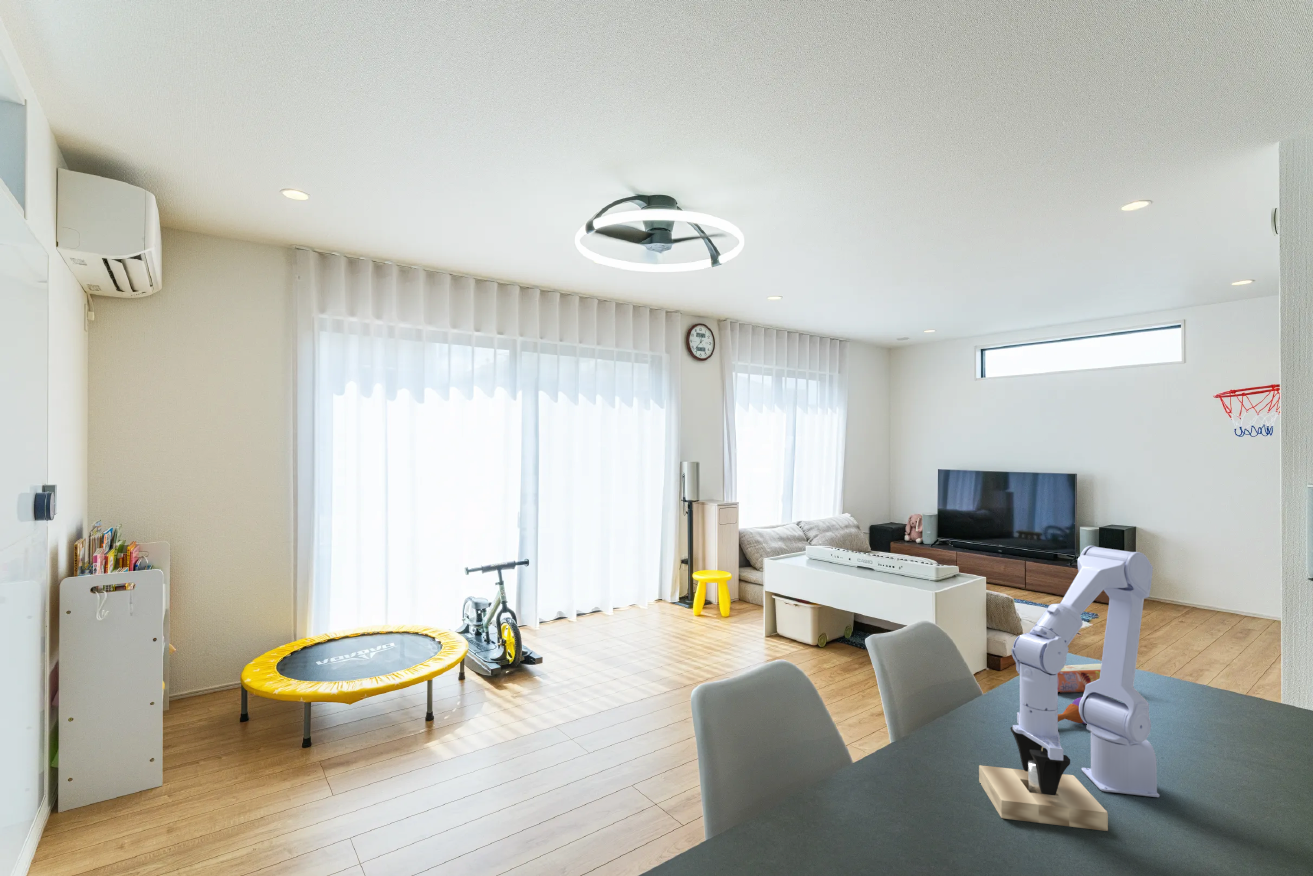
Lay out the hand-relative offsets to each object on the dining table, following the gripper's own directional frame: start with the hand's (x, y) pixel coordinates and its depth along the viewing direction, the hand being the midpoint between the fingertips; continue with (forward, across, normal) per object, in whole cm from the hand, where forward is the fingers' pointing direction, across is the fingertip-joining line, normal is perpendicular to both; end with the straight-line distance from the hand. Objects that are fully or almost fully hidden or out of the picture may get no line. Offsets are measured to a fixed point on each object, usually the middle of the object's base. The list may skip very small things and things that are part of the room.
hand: (1038, 782), depth 108 cm
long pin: (+4, 0, 0) cm, 4 cm away
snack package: (+4, -63, +34) cm, 71 cm away
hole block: (+4, 0, 0) cm, 4 cm away
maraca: (+4, -36, +19) cm, 41 cm away
